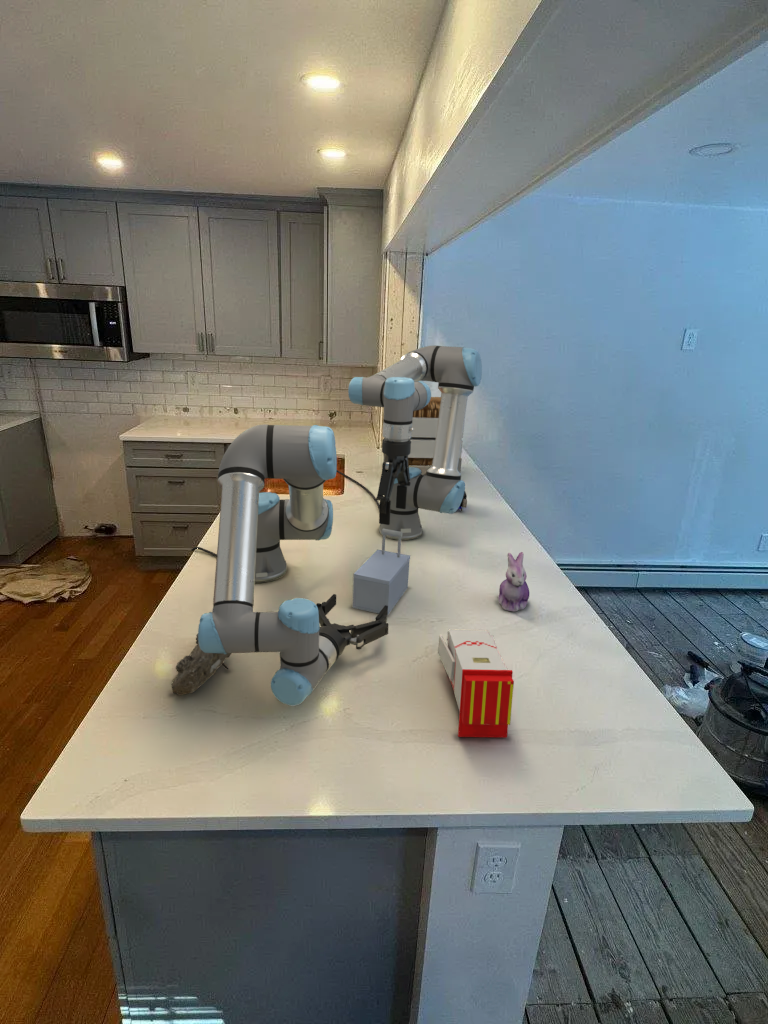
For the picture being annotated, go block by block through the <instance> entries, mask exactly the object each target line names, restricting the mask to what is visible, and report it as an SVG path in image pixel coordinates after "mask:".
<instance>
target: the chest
mask: <svg viewBox="0 0 768 1024" xmlns="http://www.w3.org/2000/svg"><path fill="white" fill-rule="evenodd" d="M410 560H411V559H410ZM410 560H409V561H408V562H407V564H406V565H405V566H404V567H403V568H402V570H401V571H400V572H399V573H398V575H397V576H396V577H395V578H394V580H393V581H392V582H391V583H390V585H387V584H382V583H377V582H373V581H368V580H363V579H358V578H353V577H352V609H356V610H360V611H365V612H370V613H374V614H377V615H378V614H379V613H380V611H381V610H382V609H383V607H384V606H385V605H386V606H388V615H387V617H388V616H389V615H390V613H391V612H392V610H393V609H394V608H395V607H396V605H397V604H398V603H399V601H400V600H401V599H402V597H403V595H404V594H405V592H406V591H408V588H409V576H410Z"/></svg>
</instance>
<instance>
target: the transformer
mask: <svg viewBox="0 0 768 1024" xmlns="http://www.w3.org/2000/svg"><path fill="white" fill-rule="evenodd" d="M440 393H441V392H440ZM441 396H442V393H441V394H440V396H431V399H430V401H429V403H428V404H427V405H426V406H425V407H424V408H422V409H419V410H416V411H413V419H412V428H414V431H412V433H411V438H410V439H409V440H410V441H411V452H410V454H409V455H408V465H409V467H417V466H418V467H431V466H432V462H433V455H434V447H435V440H436V433H437V425H438V418H439V411H440V403H441ZM464 422H465V420H464ZM464 429H465V426H464V427H463V434H462V439H463V438H464V431H465V430H464ZM463 442H464V441H463V440H462V441H461V448H460V455H459V461H458V471H459V472H460V474H461V475H462V473H461V472H462V461H463V460H462V453H463ZM387 460H388V456H387V455H385V454H383V462H387Z"/></svg>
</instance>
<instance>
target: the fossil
mask: <svg viewBox="0 0 768 1024" xmlns="http://www.w3.org/2000/svg"><path fill="white" fill-rule="evenodd" d="M195 644H196V645H195V646H194V648H193V650H192V651H191V653H190V655H185V656H184V657H183V658H181V659H180V660H179V661H178V662H177V664H176V666H175V670H176V672H177V675H176V676H175V677H174V678H173V679H172V680H171V682H172V683H171V690H172V691H171V692H172V693H174V694H177V695H179V696H184V695H186V694H193V693H194V692H195V691H197V690H198V688H200V687H201V686H203V685H204V684H205V683H206V682H207V681H208V680H209V679H210V678H211V677H212V676H213V675H215V674H216V672H217V670H218V669H219V668H220V667H221V666H223V668H224V669H225V670H227V671H228V670H229V669H230V668H229V666H227V664H225V660H226V659H227V658H230V656H231V655H232V654H233V653H227V654H224V653H204V652H203V651H202V650H201V649H200V647H199V642H198V633H197V634H196V637H195Z"/></svg>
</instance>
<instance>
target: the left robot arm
mask: <svg viewBox="0 0 768 1024" xmlns="http://www.w3.org/2000/svg"><path fill="white" fill-rule="evenodd" d="M337 460H338V459H337V446H336V437H335V432H334V430H333V429H332V428H331V427H329V426H325V425H319V424H313V425H293V424H291V425H288V424H257V425H254V426H251V427H249V428H247V429H245V430H244V431H242V432H241V433H239V435H237V437H235V438H234V440H233V441H232V442H231V443H230V445H228V447H227V449H226V450H225V452H224V454H223V456H222V458H221V461H220V464H219V468H218V472H217V473H218V474H217V485H218V487H219V488H220V489H221V496H220V498H221V499H220V508H219V509H220V510H219V523H218V537H217V547H216V549H217V550H216V553H215V552H213V551H210V550H209V549H205V548H203V547H202V546H201V547H200V546H194V547H192V548H191V549H190V551H191V552H194V551H195V550H199V551H202V552H204V553H207V554H209V555H211V556H213V557H216V562H215V573H214V574H215V575H214V587H213V601H212V611H209V612H204V613H203V614H201V615H200V618H199V624H198V629H197V634H198V642H199V647H200V649H201V650H202V651H203V652H204V653H224V654H227V653H232V654H248V653H250V654H251V653H279V668H278V670H276V671H275V674H274V675H273V677H272V678H271V679H270V690H271V693H272V694H273V696H274V697H275V698H276V699H277V700H278V701H279V702H280V703H282V704H284V705H287V706H292V707H295V706H299V705H300V704H302V703H303V702H304V701H305V700H306V699H307V698H308V697H309V696H310V695H311V694H312V693H313V691H314V690H315V689H316V687H317V686H318V685H319V683H320V682H321V681H322V679H323V678H324V676H325V675H326V673H328V671H329V670H330V669H331V668H332V666H333V665H334V663H335V662H336V661H337V660H338V659H339V657H340V656H342V654H343V653H344V651H345V649H346V647H347V646H350V645H353V646H355V650H358V651H360V650H362V648H364V647H365V646H366V645H368V644H370V643H373V642H375V641H377V640H379V639H381V638H383V637H386V636H388V634H389V625H390V624H389V623H388V616H389V615H388V606H386V605H385V606H384V607H383V609H382V610H381V611H380V613H379V614H378V613H377V615H376V616H375V619H374V620H372V621H369V622H364V623H360V624H356V625H354V624H348V625H344V624H338V623H335V622H334V623H331V621H330V619H329V618H328V617H327V615H328V614H329V612H330V611H332V609H333V608H334V607H335V606H336V605H337V594H336V593H333V594H332V595H331V596H330V597H329V598H328V599H327V600H326V601H322V602H321V603H320V602H317V603H315V602H314V601H312V600H310V599H308V598H304V597H295V598H293V599H286V600H284V601H283V602H282V603H280V605H279V607H278V611H254V602H255V584H258V583H259V584H261V583H268V582H274V581H276V580H279V579H281V578H282V577H284V576H285V575H286V574H287V572H288V569H287V568H288V565H287V561H286V559H285V556H284V553H283V550H282V548H281V541H303V540H304V541H308V540H309V541H321V540H322V541H323V540H327V539H329V538H330V537H331V534H332V531H333V530H332V529H333V524H334V523H333V522H334V506H333V503H332V500H330V499H326V498H324V484H325V483H326V481H329V480H333V479H335V478H336V476H337V473H338V472H337V470H338V464H337V463H338V461H337ZM266 479H269V480H271V479H273V480H274V479H277V480H283V481H284V482H285V483H286V485H287V486H288V494H289V499H288V498H287V499H281V498H280V496H279V494H278V493H276V492H271V491H265V492H262V490H264V488H265V482H266V481H265V480H266ZM197 548H198V549H197ZM387 615H388V616H387Z"/></svg>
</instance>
